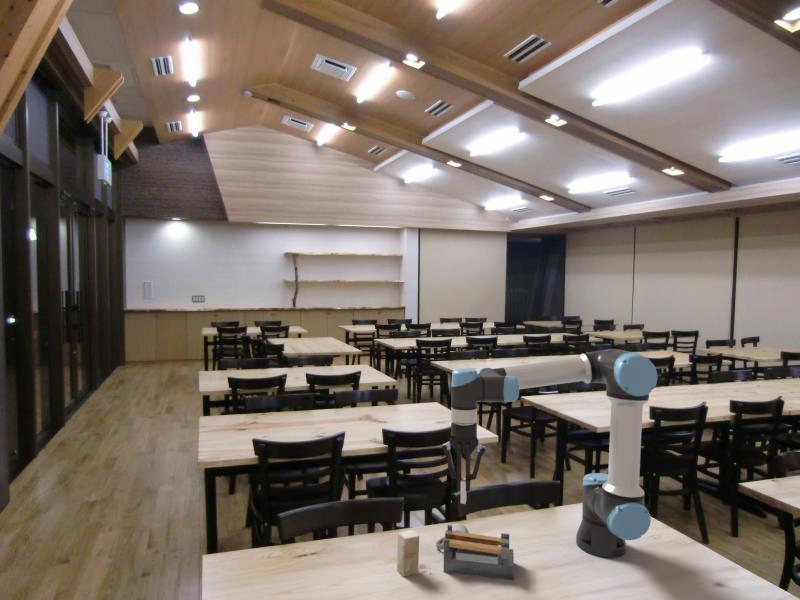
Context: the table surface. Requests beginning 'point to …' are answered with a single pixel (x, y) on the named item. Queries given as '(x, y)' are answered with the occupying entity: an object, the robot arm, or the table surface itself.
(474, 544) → the strap near
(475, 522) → the table surface
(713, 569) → the table surface
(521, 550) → the table surface
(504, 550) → the gray cradle frame
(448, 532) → the lug bar
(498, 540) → the orange long bar
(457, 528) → the ceramic mug
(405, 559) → the box
